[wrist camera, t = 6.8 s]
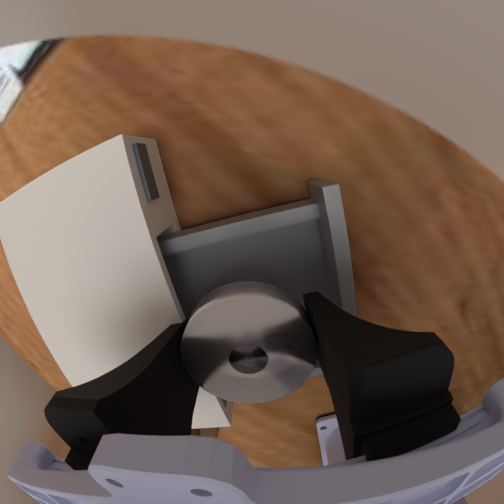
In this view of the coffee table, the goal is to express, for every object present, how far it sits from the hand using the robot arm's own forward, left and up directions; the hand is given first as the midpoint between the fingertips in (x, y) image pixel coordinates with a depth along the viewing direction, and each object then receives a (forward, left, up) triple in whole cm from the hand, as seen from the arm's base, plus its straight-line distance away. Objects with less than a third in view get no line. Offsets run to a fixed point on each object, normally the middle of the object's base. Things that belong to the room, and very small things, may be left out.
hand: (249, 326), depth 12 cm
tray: (0, 0, -2) cm, 2 cm away
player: (+2, +7, -3) cm, 8 cm away
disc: (0, 0, +1) cm, 1 cm away
